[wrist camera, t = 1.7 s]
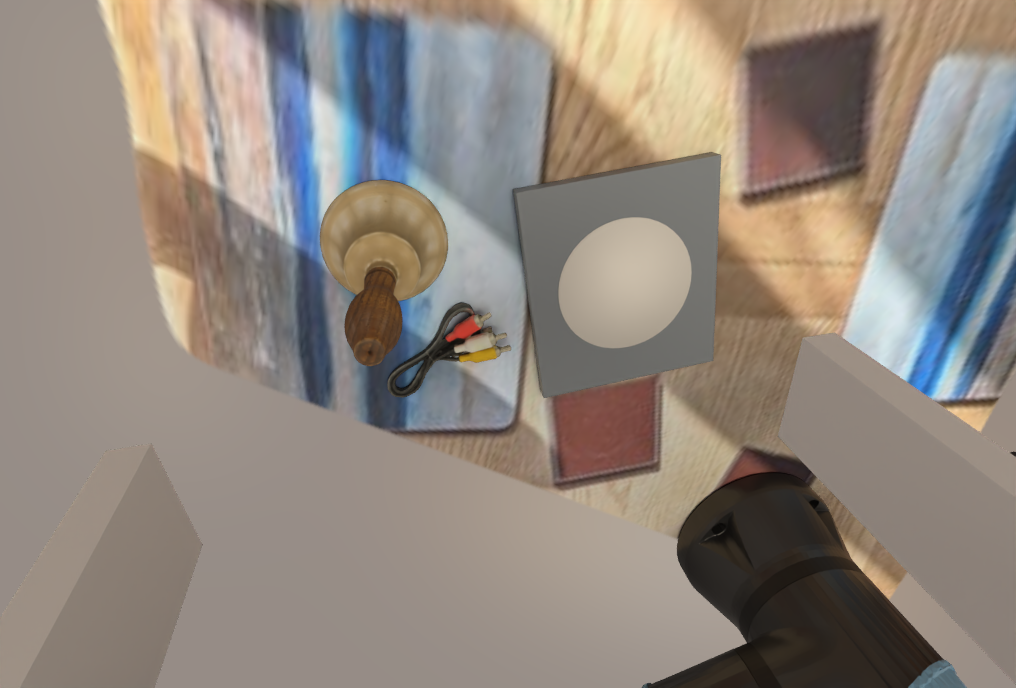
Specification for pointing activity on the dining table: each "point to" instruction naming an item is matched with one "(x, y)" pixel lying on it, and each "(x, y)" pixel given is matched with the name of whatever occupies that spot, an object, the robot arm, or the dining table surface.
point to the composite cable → (452, 348)
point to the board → (621, 271)
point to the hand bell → (381, 258)
